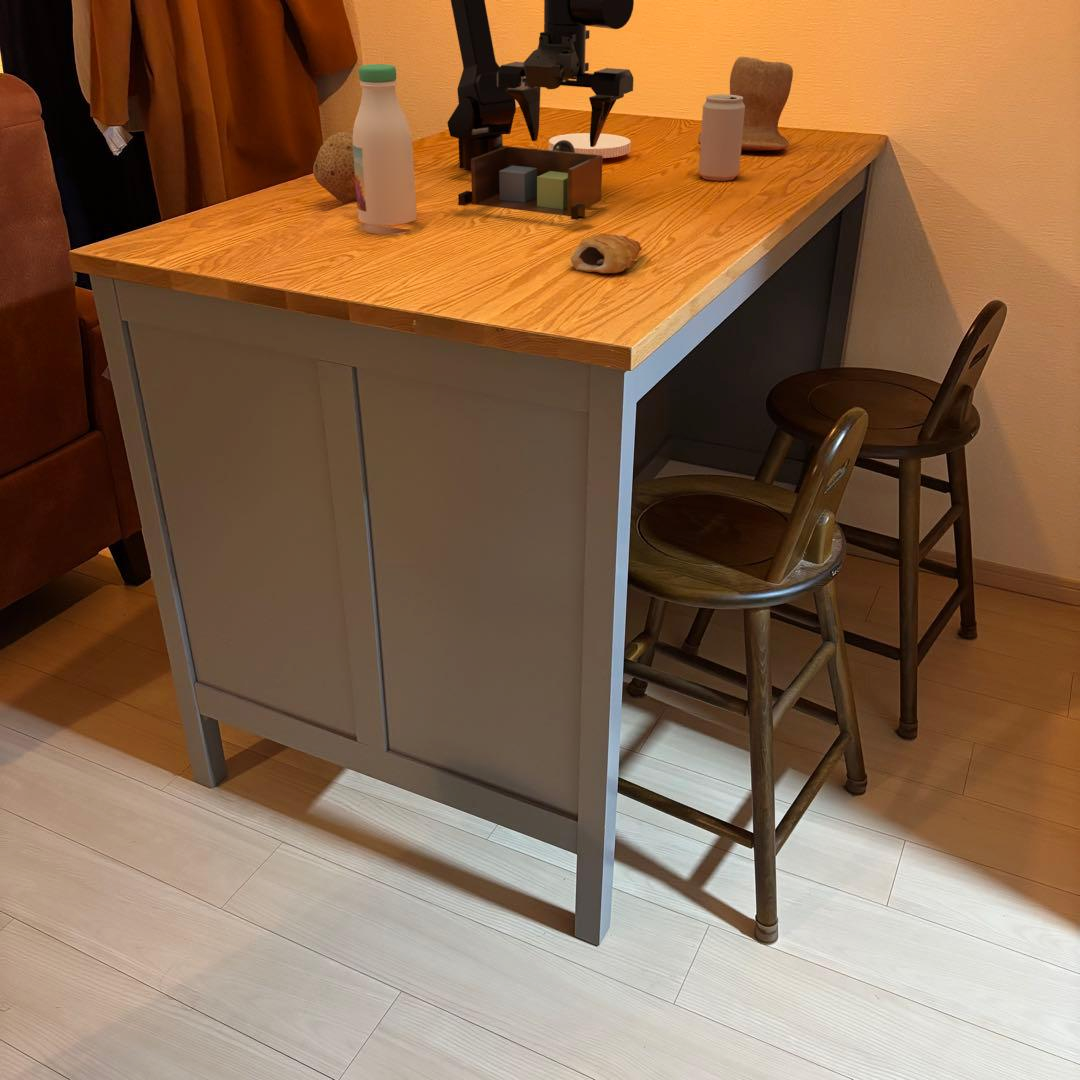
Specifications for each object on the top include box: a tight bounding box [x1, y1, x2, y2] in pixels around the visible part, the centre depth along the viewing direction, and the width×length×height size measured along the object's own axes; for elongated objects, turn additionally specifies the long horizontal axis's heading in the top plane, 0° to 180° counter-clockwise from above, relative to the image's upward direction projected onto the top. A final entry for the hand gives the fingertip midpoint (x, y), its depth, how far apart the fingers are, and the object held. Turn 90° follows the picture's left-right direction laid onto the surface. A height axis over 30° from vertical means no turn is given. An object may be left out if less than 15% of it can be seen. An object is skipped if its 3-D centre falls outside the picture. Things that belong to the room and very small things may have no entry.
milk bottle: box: [352, 63, 418, 235], centre depth 138 cm, size 8×8×20 cm
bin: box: [470, 140, 603, 217], centre depth 151 cm, size 15×15×8 cm
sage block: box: [537, 171, 568, 210], centre depth 147 cm, size 4×4×4 cm
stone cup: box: [697, 56, 794, 152], centre depth 186 cm, size 15×12×15 cm
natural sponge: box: [312, 131, 357, 205], centre depth 151 cm, size 9×9×10 cm
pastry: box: [570, 233, 642, 274], centre depth 128 cm, size 9×7×4 cm
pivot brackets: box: [457, 190, 587, 221], centre depth 146 cm, size 19×2×3 cm, turn 64°
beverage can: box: [698, 93, 745, 182], centre depth 167 cm, size 6×6×12 cm
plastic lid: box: [548, 132, 632, 159], centre depth 183 cm, size 14×14×2 cm
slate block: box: [499, 165, 537, 203], centre depth 151 cm, size 4×4×4 cm
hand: (563, 143), depth 154 cm, fingers open, 9 cm apart
